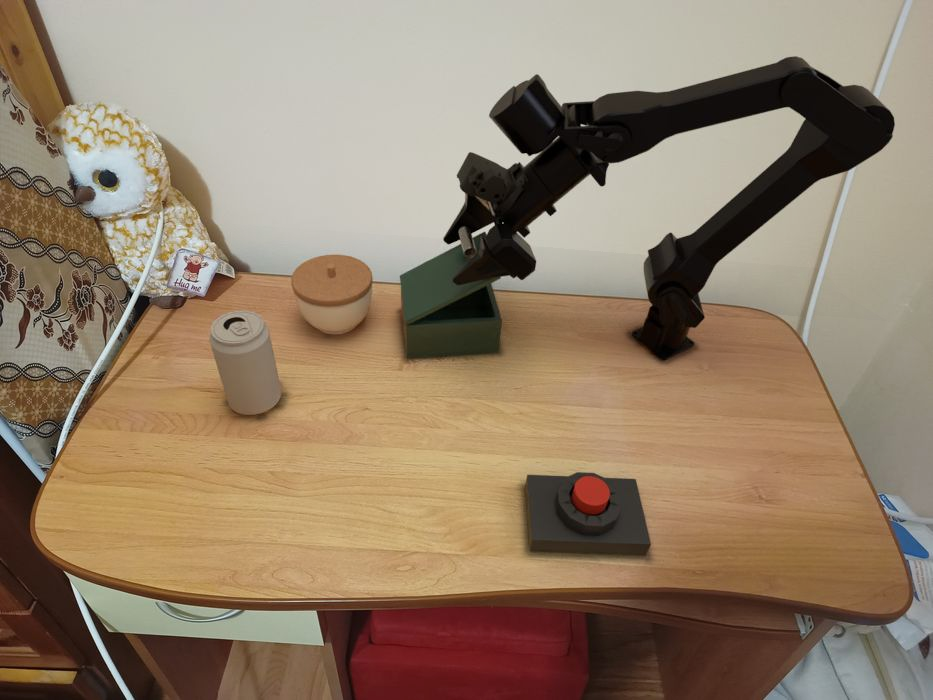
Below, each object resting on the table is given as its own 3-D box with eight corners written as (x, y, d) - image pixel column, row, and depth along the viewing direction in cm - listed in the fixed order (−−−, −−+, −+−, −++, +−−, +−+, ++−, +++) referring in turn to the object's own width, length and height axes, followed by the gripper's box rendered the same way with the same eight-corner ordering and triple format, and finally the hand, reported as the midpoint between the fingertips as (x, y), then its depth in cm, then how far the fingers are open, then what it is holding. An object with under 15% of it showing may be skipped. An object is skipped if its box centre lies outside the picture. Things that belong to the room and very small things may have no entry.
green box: (486, 307, 93) (489, 275, 89) (498, 353, 86) (502, 320, 82) (401, 311, 91) (400, 279, 88) (406, 358, 84) (406, 325, 80)
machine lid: (487, 234, 85) (472, 209, 82) (501, 278, 77) (485, 252, 74) (401, 278, 87) (384, 256, 85) (407, 325, 80) (389, 302, 77)
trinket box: (307, 295, 93) (299, 241, 87) (379, 299, 93) (376, 246, 87) (290, 343, 85) (280, 287, 79) (369, 348, 85) (365, 292, 79)
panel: (631, 490, 70) (639, 468, 67) (645, 555, 64) (655, 534, 62) (524, 486, 70) (529, 464, 67) (529, 551, 64) (534, 530, 61)
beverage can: (264, 373, 81) (248, 300, 72) (292, 401, 77) (278, 327, 69) (218, 397, 77) (195, 323, 69) (246, 427, 74) (225, 353, 66)
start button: (603, 486, 66) (607, 476, 65) (609, 516, 63) (612, 506, 62) (569, 485, 66) (572, 475, 65) (573, 514, 63) (576, 504, 62)
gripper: (488, 103, 77) (399, 187, 83) (520, 173, 63) (411, 268, 69) (541, 162, 83) (455, 236, 89) (580, 238, 70) (477, 319, 76)
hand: (449, 261), depth 81 cm, fingers open, 9 cm apart
